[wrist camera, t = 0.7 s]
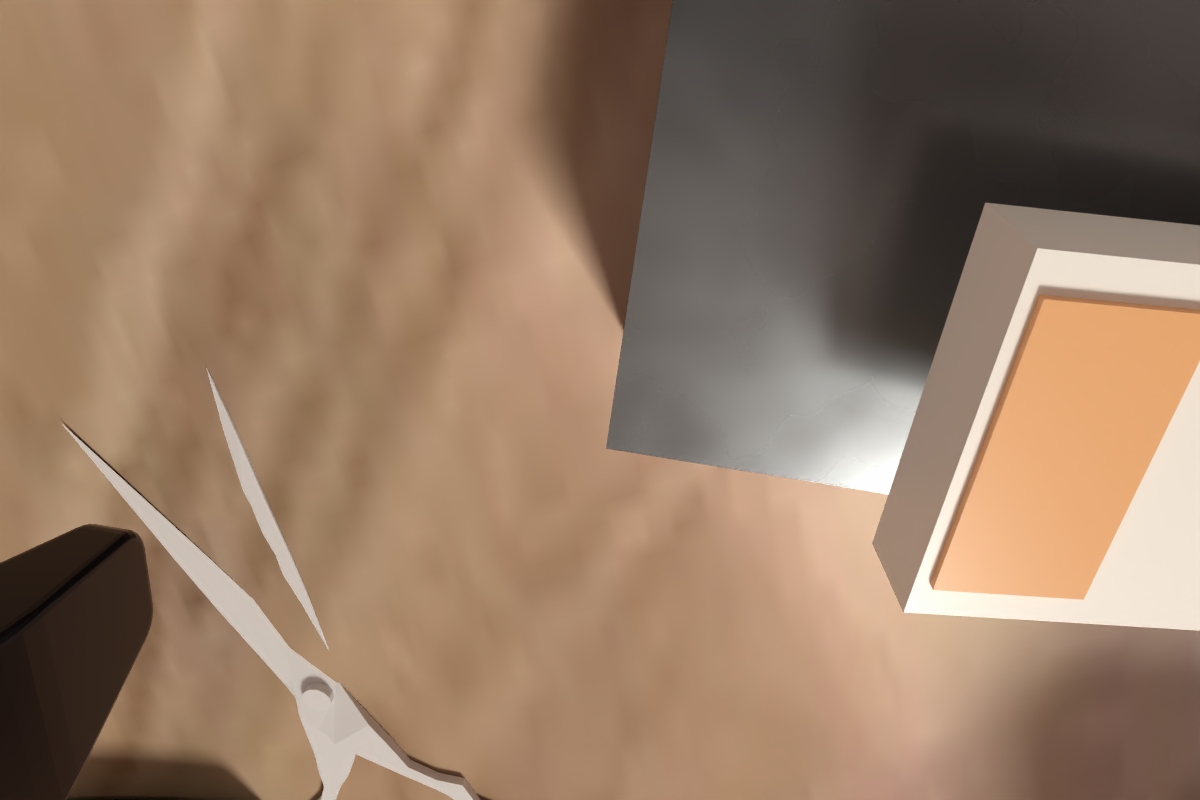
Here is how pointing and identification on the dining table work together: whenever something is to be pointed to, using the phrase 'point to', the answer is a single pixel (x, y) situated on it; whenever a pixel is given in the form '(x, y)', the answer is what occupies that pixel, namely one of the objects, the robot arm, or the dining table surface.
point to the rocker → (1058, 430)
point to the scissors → (321, 701)
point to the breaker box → (869, 203)
